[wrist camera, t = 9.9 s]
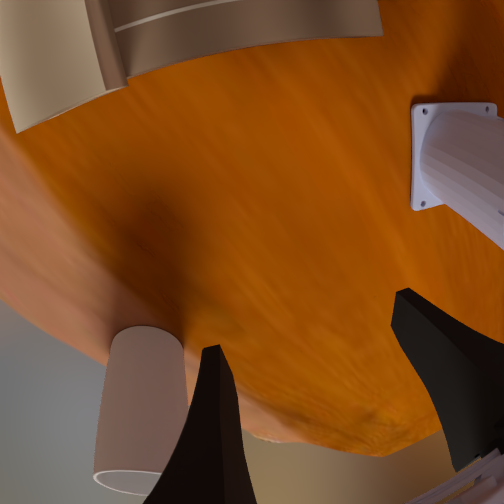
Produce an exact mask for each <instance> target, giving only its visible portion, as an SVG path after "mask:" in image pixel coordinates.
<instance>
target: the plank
mask: <svg viewBox="0 0 504 504" xmlns="http://www.w3.org/2000/svg"><path fill="white" fill-rule="evenodd" d="M108 3H109V8H110V12H111V17H112V21H113V26H114V30H115V34H116V39H117V43H118V47H119V51H120V55H121V59H122V63H123V67H124V70H125V74H126V78H127V79H129V78H132V77H135V76H138V75H141V74H144V73H147V72H150V71H153V70H156V69H159V68H163V67H166V66H170V65H173V64H177V63H180V62H184V61H188V60H192V59H196V58H200V57H204V56H208V55H213V54H217V53H222V52H227V51H232V50H237V49H242V48H248V47H254V46H260V45H267V44H274V43H282V42H291V41H301V40H312V39H327V38H356V37H373V36H384V35H383V29H382V23H381V17H380V12H379V7H378V2H377V0H108Z"/></svg>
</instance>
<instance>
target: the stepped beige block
mask: <svg viewBox="0 0 504 504" xmlns="http://www.w3.org/2000/svg"><path fill="white" fill-rule="evenodd" d="M0 75H1V79H2V84H3V88H4V92H5V95H6V99H7V103H8V106H9V110H10V113H11V116H12V120H13V123H14V126H15V129H16V132H17V133H19V132H21V131H23V130H25V129H28V128H30V127H32V126H34V125H37V124H39V123H41V122H43V121H46V120H48V119H51V118H53V117H55V116H58V115H60V114H62V113H64V112H66V111H68V110H70V109H72V108H75V107H77V106H79V105H81V104H84V103H86V102H88V101H91V100H93V99H96V98H98V97H100V96H103V95H105V94H108V93H111V92H113V91H116V90H119V89H121V88H124V87H127V86H129V85H128V82H127V78H126V74H125V70H124V67H123V63H122V59H121V55H120V51H119V47H118V43H117V39H116V34H115V30H114V26H113V21H112V17H111V12H110V8H109V3H108V0H0Z"/></svg>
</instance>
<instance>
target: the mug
mask: <svg viewBox="0 0 504 504" xmlns="http://www.w3.org/2000/svg"><path fill="white" fill-rule="evenodd" d="M188 412H189V411H188V400H187V388H186V375H185V365H184V352H183V348H182V345H181V343H180V342H179V341H178V340H177V339H176V338H175V337H174V336H173V335H172V334H170V333H168V332H166V331H164V330H162V329H159V328H155V327H150V326H134V327H130V328H127V329H124V330H122V331H121V332H119V333H118V334H117V335H116V336H115V337H114V339H113V341H112V344H111V349H110V354H109V359H108V364H107V369H106V375H105V381H104V387H103V393H102V400H101V406H100V414H99V421H98V429H97V437H96V446H95V457H94V474H93V478H94V480H95V481H96V482H98V483H99V484H101V485H103V486H105V487H108V488H111V489H113V490H116V491H120V492H124V493H130V494H136V495H145V496H148V495H149V494H150V492H151V491H152V489H153V488H154V486H155V485H156V483H157V481H158V479H159V478H160V476H161V474H162V473H163V471H164V469H165V467H166V465H167V463H168V461H169V459H170V457H171V455H172V453H173V451H174V449H175V447H176V444H177V442H178V440H179V437H180V435H181V432H182V430H183V427H184V424H185V421H186V418H187V415H188Z"/></svg>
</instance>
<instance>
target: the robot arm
mask: <svg viewBox="0 0 504 504" xmlns="http://www.w3.org/2000/svg"><path fill="white" fill-rule="evenodd" d="M423 109H425V112H424V113H423V112H422V111H423ZM485 109H486V110H485ZM411 120H412V185H411V208H412V209H413V210H415V211H418V210H422V209H426V208H430V207H433V206H437V205H441V204H446V205H448V206H449V207H450V208H452V209H453V210H454V211H456V212H457V213H458V214H460V215H461V216H462V217H464V218H465V219H466V220H467V221H469V222H470V223H471V224H473V225H474V226H475V227H476V228H478V229H479V230H480V231H481V232H483V233H484V234H485V235H486V236H487V237H489V238H490V239H491V240H492V241H493V242H495V243H496V244H497V245H498V246H499V247H500V248H502V249H503V250H504V119H503V118H501V117H498V116H497V106H496V104H494V103H487V102H445V103H420V104H414V105H413V106H412V108H411ZM422 201H423V203H422V204H421V202H422ZM391 327H392V329H393V332H394V334H395V336H396V338H397V340H398V342H399V344H400V346H401V348H402V349H403V351H404V353H405V354H406V356H407V358H408V359H409V361H410V362H411V364H412V366H413V367H414V369H415V370H416V372H417V374H418V375H419V377H420V378H421V380H422V382H423V383H424V385H425V387H426V389H427V391H428V393H429V395H430V397H431V400H432V402H433V404H434V406H435V409H436V411H437V414H438V417H439V419H440V422H441V425H442V428H443V431H444V434H445V437H446V440H447V444H448V447H449V452H450V455H451V460H452V465H453V467H454V469H455V471H456V472H458V471H460V470H461V469H463V468H465V467H466V466H468V465H469V464H471V463H472V462H474V461H475V460H477V459H478V458H480V457H481V460H479V461H478V462H476V463H475V464H473V465H472V466H470V467H469V468H467V469H466V470H464V471H462V472H461V473H459V474H458V475H456V476H454V477H453V478H451V479H449V480H448V481H446V482H444V483H442V484H441V485H439V486H437V487H435V488H433V489H431V490H429V491H428V492H426V493H424V494H422V495H420V496H418V497H416V498H414V499H412V500H410V501H408V502H405V503H403V504H434V503H436V502H438V501H440V500H441V499H443V498H445V497H447V496H448V495H449V494H452V493H453V492H455V491H457V490H458V489H460V488H461V487H463V486H465V485H466V484H468V483H469V482H471V481H472V480H474V479H475V478H476V479H475V481H474V485H473V486H471V487H470V488H468V489H467V490H465V491H463V492H461V493H460V494H458V495H456V496H455V497H453V498H452V499H450V500H449V501H447V502H445V503H444V504H504V344H502V343H500V342H497V341H495V340H493V339H491V338H489V337H487V336H485V335H483V334H481V333H479V332H477V331H475V330H473V329H471V328H470V327H468V326H466V325H464V324H463V323H461V322H459V321H458V320H456V319H455V318H453V317H451V316H450V315H448V314H447V313H445V312H444V311H442V310H441V309H439V308H438V307H436V306H435V305H433V304H432V303H431V302H429V301H428V300H426V299H425V298H423V297H422V296H420V295H419V294H417V293H416V292H414V291H413V290H411V289H410V288H406V289H403V290H400V291H398V292H396V296H395V303H394V309H393V315H392V321H391ZM143 504H257V502H256V499H255V495H254V491H253V487H252V483H251V480H250V476H249V472H248V467H247V463H246V459H245V454H244V448H243V441H242V432H241V423H240V414H239V405H238V396H237V392H236V387H235V382H234V378H233V374H232V371H231V369H230V367H229V365H228V362H227V360H226V358H225V356H224V353H223V351H222V349H221V346H220V344H219V345H215V346H210V347H206V348H204V349H203V350H202V356H201V362H200V368H199V373H198V378H197V383H196V387H195V391H194V395H193V399H192V402H191V405H190V409H189V412H188V415H187V418H186V421H185V424H184V427H183V430H182V432H181V435H180V437H179V440H178V442H177V444H176V447H175V449H174V451H173V453H172V455H171V457H170V459H169V461H168V463H167V465H166V467H165V469H164V471H163V473H162V474H161V476H160V478H159V479H158V481H157V483H156V485H155V486H154V488H153V489H152V491H151V492H150V494H149V495H148V497H147V498H146V500H145V501H144V503H143Z"/></svg>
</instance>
